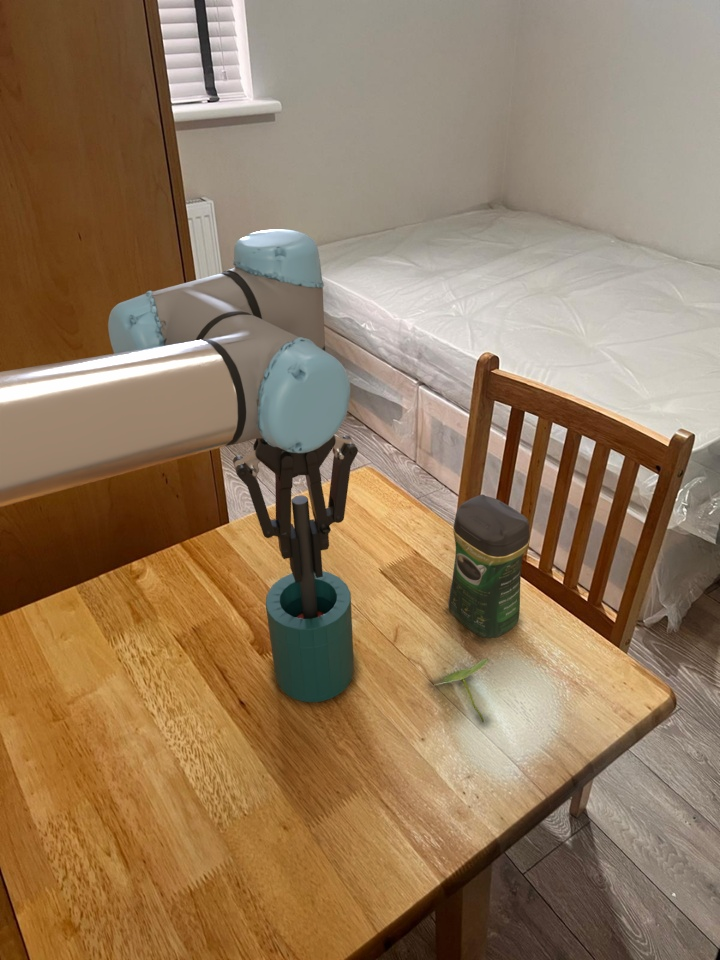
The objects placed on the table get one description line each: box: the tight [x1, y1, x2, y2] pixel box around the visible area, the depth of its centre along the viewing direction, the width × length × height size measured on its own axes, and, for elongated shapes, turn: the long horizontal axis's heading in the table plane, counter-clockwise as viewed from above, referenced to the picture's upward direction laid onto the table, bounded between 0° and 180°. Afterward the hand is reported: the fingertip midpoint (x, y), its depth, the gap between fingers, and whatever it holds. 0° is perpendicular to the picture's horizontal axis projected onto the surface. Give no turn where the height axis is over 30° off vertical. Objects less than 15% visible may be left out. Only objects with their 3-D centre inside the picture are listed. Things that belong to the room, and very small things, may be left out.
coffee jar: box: [448, 493, 530, 639], centre depth 97 cm, size 10×8×19 cm
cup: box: [265, 570, 355, 703], centre depth 92 cm, size 10×10×13 cm
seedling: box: [435, 658, 489, 722], centre depth 90 cm, size 7×8×6 cm
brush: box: [291, 494, 324, 619], centre depth 86 cm, size 4×4×24 cm
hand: (306, 571), depth 86 cm, fingers closed on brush, 2 cm apart
